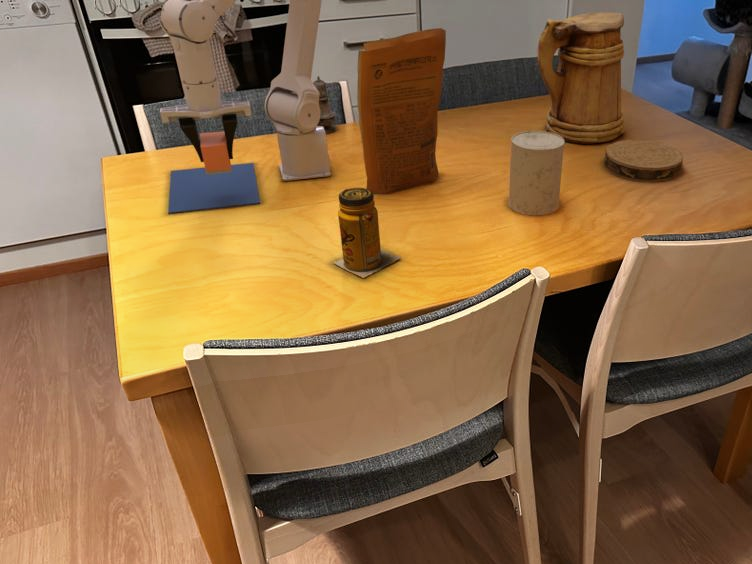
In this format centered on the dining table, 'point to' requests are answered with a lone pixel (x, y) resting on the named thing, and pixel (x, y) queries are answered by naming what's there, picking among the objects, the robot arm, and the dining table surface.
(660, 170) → the brown round disc
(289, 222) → the dining table surface
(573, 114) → the tankard
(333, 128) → the grey pagoda figurine
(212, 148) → the orange rectangular block
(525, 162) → the grey stone cylinder
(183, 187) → the cloth
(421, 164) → the pancake mix bag
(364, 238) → the condiment
